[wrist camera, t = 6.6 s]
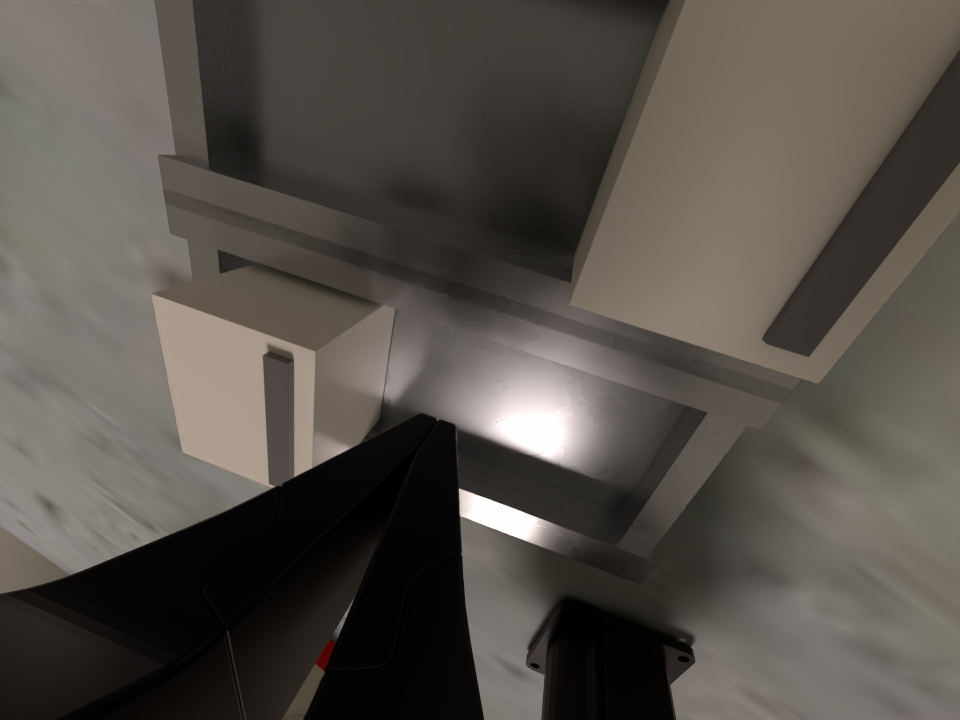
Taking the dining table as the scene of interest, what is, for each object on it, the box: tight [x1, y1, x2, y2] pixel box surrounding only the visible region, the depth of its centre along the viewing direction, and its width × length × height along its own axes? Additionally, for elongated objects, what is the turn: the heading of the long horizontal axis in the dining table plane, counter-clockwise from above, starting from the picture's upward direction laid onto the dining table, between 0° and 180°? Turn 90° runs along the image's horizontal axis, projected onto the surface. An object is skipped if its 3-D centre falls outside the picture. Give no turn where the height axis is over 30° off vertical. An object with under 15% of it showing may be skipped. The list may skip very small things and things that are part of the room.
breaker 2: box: [569, 0, 960, 384], centre depth 7 cm, size 5×4×4 cm
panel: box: [155, 0, 801, 584], centre depth 10 cm, size 21×18×4 cm
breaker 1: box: [151, 263, 395, 488], centre depth 11 cm, size 5×4×4 cm
